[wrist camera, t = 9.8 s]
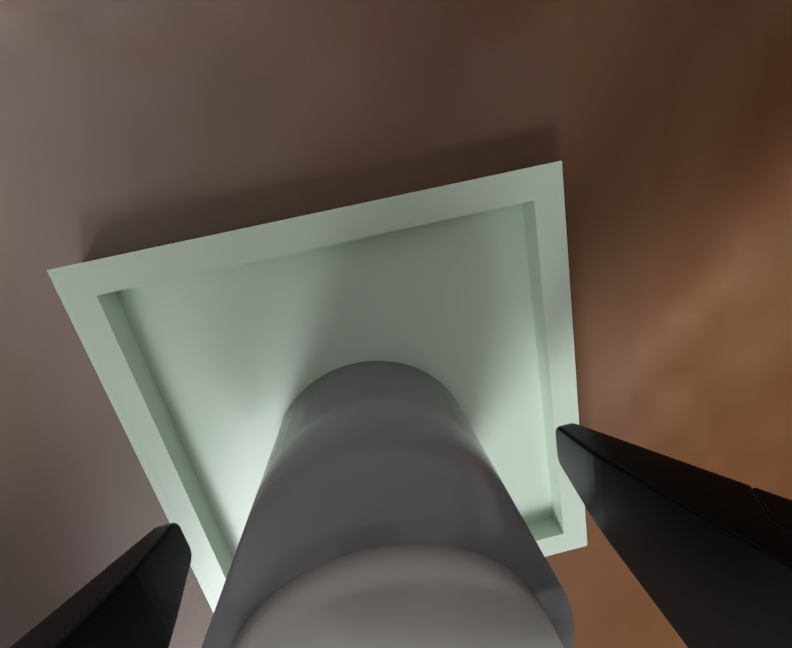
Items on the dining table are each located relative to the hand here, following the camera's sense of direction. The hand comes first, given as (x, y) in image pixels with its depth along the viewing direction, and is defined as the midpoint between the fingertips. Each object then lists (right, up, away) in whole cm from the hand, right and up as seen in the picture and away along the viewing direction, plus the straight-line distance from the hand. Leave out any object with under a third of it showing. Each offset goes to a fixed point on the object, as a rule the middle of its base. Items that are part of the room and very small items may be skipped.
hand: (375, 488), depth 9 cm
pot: (0, 0, +3) cm, 3 cm away
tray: (0, +1, +3) cm, 3 cm away
